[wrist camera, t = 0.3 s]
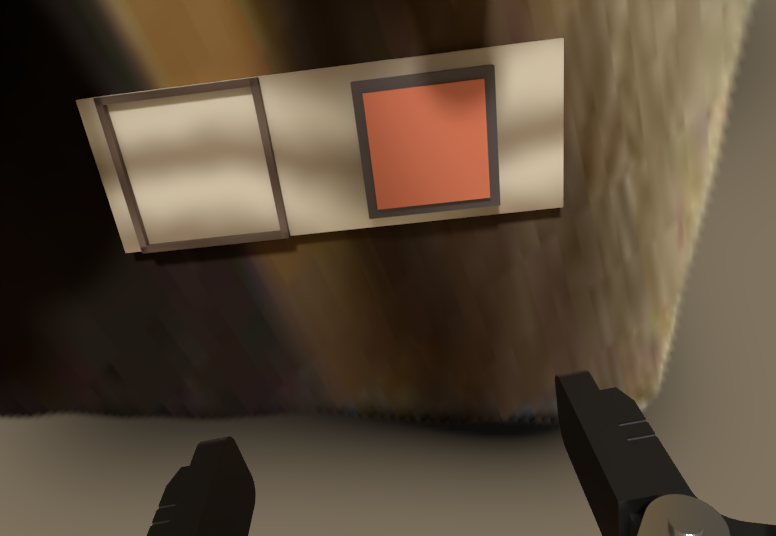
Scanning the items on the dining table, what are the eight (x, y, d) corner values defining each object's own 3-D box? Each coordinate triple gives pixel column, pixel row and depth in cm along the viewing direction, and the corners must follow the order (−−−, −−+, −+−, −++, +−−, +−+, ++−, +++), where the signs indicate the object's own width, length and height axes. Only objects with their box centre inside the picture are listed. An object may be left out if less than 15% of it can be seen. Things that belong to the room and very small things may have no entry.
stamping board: (83, 98, 38) (71, 101, 36) (559, 37, 35) (565, 38, 34) (131, 248, 42) (122, 255, 40) (559, 203, 39) (565, 209, 38)
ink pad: (352, 81, 36) (349, 83, 34) (491, 64, 35) (495, 65, 34) (370, 213, 39) (369, 220, 38) (497, 200, 38) (501, 206, 37)
